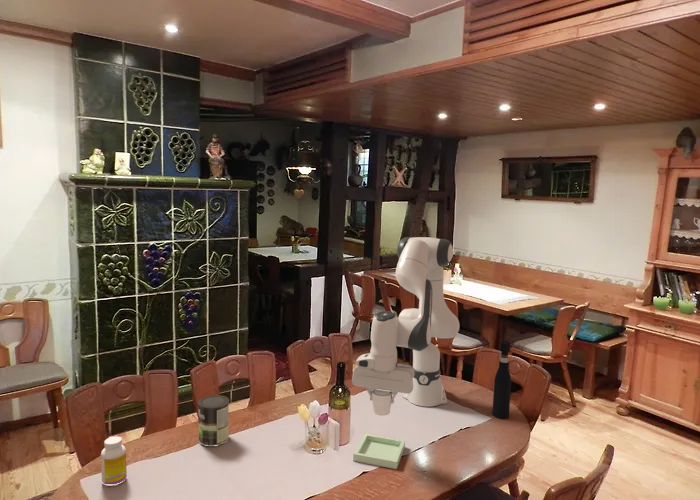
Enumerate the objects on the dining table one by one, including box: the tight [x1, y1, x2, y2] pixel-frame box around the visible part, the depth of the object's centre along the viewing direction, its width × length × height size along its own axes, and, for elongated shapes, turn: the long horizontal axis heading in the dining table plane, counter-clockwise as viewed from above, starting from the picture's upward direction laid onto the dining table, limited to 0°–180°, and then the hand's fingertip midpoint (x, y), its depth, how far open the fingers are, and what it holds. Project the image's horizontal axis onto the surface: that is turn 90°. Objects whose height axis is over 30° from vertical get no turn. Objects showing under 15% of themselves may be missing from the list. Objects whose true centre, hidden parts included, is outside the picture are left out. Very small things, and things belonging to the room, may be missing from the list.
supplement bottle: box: [100, 436, 128, 484], centre depth 144 cm, size 7×7×13 cm
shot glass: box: [372, 388, 393, 416], centre depth 162 cm, size 7×7×7 cm
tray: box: [353, 433, 406, 470], centre depth 164 cm, size 14×14×2 cm
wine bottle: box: [492, 340, 512, 420], centre depth 193 cm, size 6×6×30 cm
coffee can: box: [197, 394, 230, 446], centre depth 169 cm, size 10×10×14 cm
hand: (381, 401), depth 162 cm, fingers closed on shot glass, 5 cm apart
